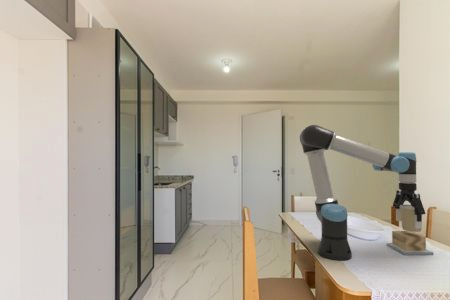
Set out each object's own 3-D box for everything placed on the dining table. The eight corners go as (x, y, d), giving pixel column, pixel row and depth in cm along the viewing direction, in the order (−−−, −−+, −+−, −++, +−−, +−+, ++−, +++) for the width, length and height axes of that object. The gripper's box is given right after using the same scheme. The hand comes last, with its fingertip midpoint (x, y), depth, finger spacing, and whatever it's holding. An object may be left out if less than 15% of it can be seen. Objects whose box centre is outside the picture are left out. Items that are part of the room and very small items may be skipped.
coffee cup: (427, 232, 127) (426, 207, 128) (405, 231, 129) (404, 206, 130) (417, 228, 136) (416, 204, 137) (397, 227, 138) (396, 204, 139)
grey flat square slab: (404, 255, 128) (404, 252, 128) (386, 245, 142) (386, 243, 142) (433, 255, 128) (433, 252, 128) (412, 245, 142) (412, 242, 142)
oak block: (405, 251, 130) (405, 236, 130) (392, 244, 140) (392, 230, 140) (425, 250, 130) (425, 236, 130) (410, 244, 140) (410, 230, 140)
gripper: (434, 185, 123) (435, 231, 123) (398, 180, 148) (398, 218, 147) (418, 185, 123) (419, 231, 123) (385, 180, 148) (385, 218, 147)
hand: (408, 224), depth 135 cm, fingers open, 13 cm apart
